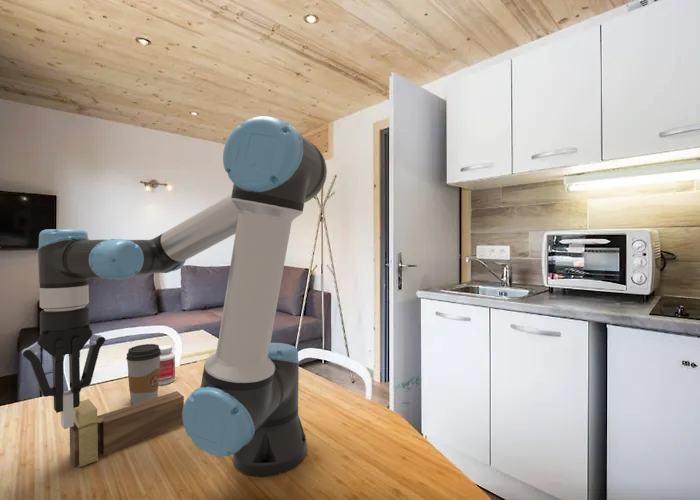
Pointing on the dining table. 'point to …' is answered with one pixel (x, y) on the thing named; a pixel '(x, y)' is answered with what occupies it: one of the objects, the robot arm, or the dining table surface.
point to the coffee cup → (143, 372)
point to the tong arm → (141, 423)
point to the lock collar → (86, 432)
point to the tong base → (74, 430)
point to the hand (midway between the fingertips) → (67, 425)
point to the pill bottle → (166, 365)
